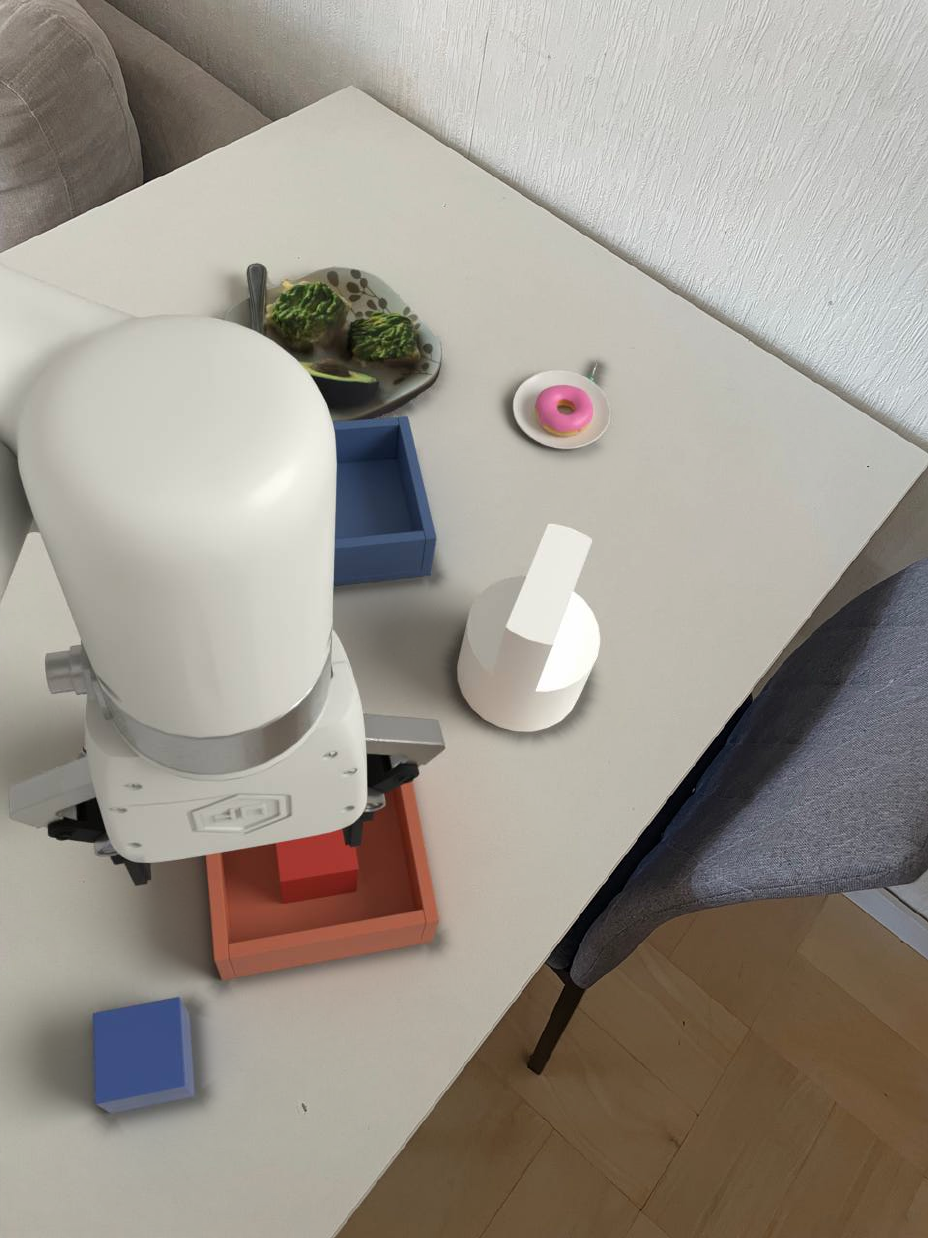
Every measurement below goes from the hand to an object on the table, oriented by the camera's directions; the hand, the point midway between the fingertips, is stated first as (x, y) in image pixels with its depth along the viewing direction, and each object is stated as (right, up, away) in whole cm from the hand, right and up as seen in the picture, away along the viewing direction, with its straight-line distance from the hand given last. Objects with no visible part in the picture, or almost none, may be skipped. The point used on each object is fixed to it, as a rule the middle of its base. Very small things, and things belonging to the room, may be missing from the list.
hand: (247, 835), depth 48 cm
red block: (+1, -5, +15) cm, 16 cm away
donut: (+19, +28, +39) cm, 52 cm away
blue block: (-7, -15, +9) cm, 19 cm away
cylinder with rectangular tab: (+14, +6, +25) cm, 29 cm away
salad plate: (-1, +32, +39) cm, 50 cm away
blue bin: (+1, +18, +30) cm, 35 cm away
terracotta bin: (+1, -5, +16) cm, 17 cm away
